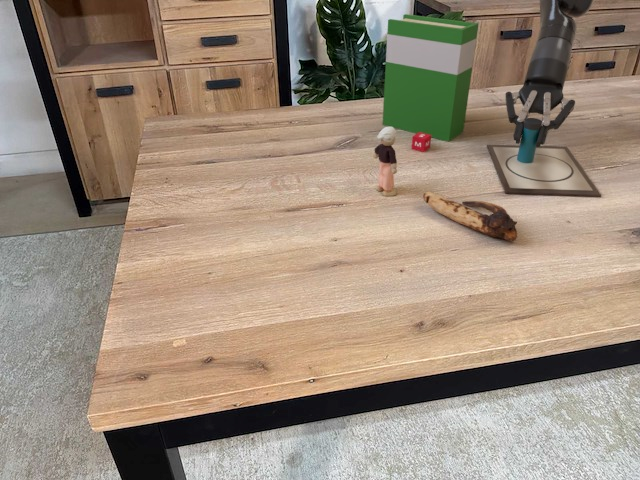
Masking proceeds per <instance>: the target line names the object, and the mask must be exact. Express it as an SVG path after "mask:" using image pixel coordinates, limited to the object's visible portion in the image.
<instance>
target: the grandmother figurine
mask: <svg viewBox="0 0 640 480" xmlns="http://www.w3.org/2000/svg"><path fill="white" fill-rule="evenodd" d="M396 131H397V130H396V128H394V127H390V126H385V127H383V128H382V129H381V130H380V131H379V132H378V134H377V135H376V139H377V140H379V141H381V143H380V144H378V145H377V146H376V147H374V152H373V154H372V155H373V156H372V157H373V158H374V159H378V161H379V168H378V185H377V186H376V187H375V191H377V192H381V195H382V196H383V197H394V196H397V194H398V193H397V190H396V189H395V188H393V187H395V178H394V177H395V174H397V173H398V169H397V168H398V166H397V164H398V161H397V157H396V150H395V148H394V147H393V145H394V144H395V143H396V134H397V132H396Z"/></svg>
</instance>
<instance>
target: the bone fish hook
mask: <svg viewBox="0 0 640 480" xmlns="http://www.w3.org/2000/svg"><path fill="white" fill-rule="evenodd" d="M422 199H423V200H424V201H423V202H425V203H426V204H427V205H428V206H430V208H431V209H433V210H434V211H435V212H437V213H438V214H439V215H442V216H444V217H447V218H448V219H451V220H453V221H454V222H456V223H458V224H459V225H460V224H461V225H463V226H465V227H468V228H470V229H472V230H475V231H476V232H477V231H478V232H480V233H482V234H485V235H487V236H490V237H493V238H499V239H502V240H504V241H508V242H515V241H516V240H517V239H518V237H519V236H518V231H517V228H516V225H517V224H518V221H514V219H513V218H511V216H510V215H509V214H508V212H507V210H506V209H505V208H504V207H502V206H500V205H497V204H495V203H492V202H487V201H482V200H463V201H462V202H461V203H459V202H456V201H454V200H452V199H448V198H447V197H445V196H442V195H440V194H437V193H434V192H432V191H425V192H424V193H423V196H422ZM471 207H473V208H481V209H485V210H487V211H489V212H491V213H490V214H487V213H482V212H479V211H477V210H475V209H473V208H471Z"/></svg>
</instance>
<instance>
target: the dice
mask: <svg viewBox="0 0 640 480" xmlns="http://www.w3.org/2000/svg"><path fill="white" fill-rule="evenodd" d="M431 142H432V137H431V135H429V134H425V133H421V132H418V133H414V135H413V136H412V139H411V150H414V151H417V152H422V153H425V152H426V151H428V150H429V149H431V144H432V143H431Z"/></svg>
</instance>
